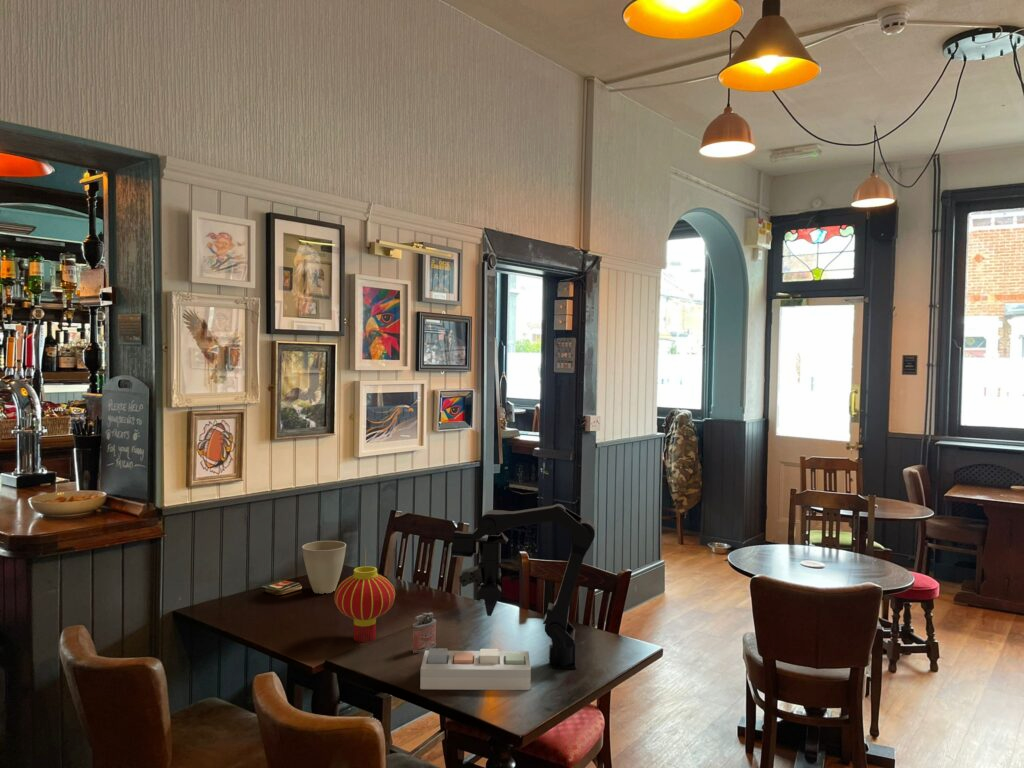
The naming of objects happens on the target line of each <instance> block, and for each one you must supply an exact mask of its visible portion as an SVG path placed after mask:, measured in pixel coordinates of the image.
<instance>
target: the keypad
mask: <svg viewBox="0 0 1024 768" xmlns="http://www.w3.org/2000/svg"><path fill="white" fill-rule="evenodd" d="M423 653H424V654H423V657H422V661H421V662H422V663H421V666H420V680H419V681H420V686H419V687H420V690H460V691H461V690H469V691H470V690H476V691H477V690H478V691H479V690H480V691H484V690H485V691H487V690H489V691H494V690H495V691H509V690H510V691H531V681H532V680H531V674H532V673H531V671H532V670H531V668H532V667H531V663H530V662H531V661H530V652H529V651H527V650H522V651H520V650H517V651H516V650H515V651H514V650H512V651H510V650H498V664H480V650H448V657H447V664H428V653H429V650H425V652H423ZM455 653H473V664H454V656H455ZM506 653H524V665H506Z"/></svg>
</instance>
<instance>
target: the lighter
mask: <svg viewBox="0 0 1024 768" xmlns="http://www.w3.org/2000/svg"><path fill="white" fill-rule="evenodd" d="M433 617H434V613H433V612H428V613H427V612H423V613H422V614H420V615H417V616H415V618H414V619H415V620H414V622H416V623H413V624H412V629H413V630H412V634H413V635H412V636H413V637H412V638H413V639H412V649H411V650H412V651H413V652H414V653H420V654H422V653H421V652H423V653H425V650H429V649H430V648H434V647H435V648H436V647H437V643H436V638H437V637H436V627H437V625H436V624H437V619H435V618H433ZM414 653H413V654H414Z"/></svg>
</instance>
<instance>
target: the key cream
mask: <svg viewBox="0 0 1024 768" xmlns="http://www.w3.org/2000/svg"><path fill="white" fill-rule="evenodd" d="M479 651H480V664H498V651H499V648H480V650H479Z"/></svg>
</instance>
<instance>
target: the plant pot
mask: <svg viewBox="0 0 1024 768" xmlns="http://www.w3.org/2000/svg"><path fill="white" fill-rule="evenodd" d="M301 549H302V555H303V560H304V565H305V570H306V574H307V578H308V581H309V584H310V586H311V590H312V591H313V593H315V594H318V593H319V594H321V595H325V594H324V593H326V594H330V593H331V594H332V593H333V591H334V592H336V590H337V586H338V583H339V581H340V577H341V574H342V571H343V567H344V561H345V557H346V551H347V550H346V549H347V544H346V543H345V542H343V541H340V540H318V541H313V542H308V543H305V544H303V545H302V546H301ZM319 594H318V595H319Z"/></svg>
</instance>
